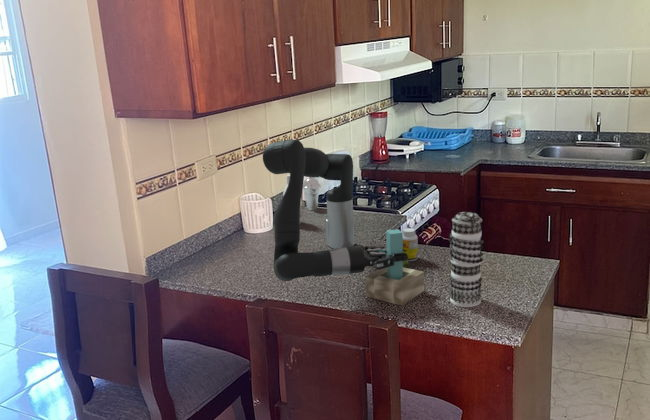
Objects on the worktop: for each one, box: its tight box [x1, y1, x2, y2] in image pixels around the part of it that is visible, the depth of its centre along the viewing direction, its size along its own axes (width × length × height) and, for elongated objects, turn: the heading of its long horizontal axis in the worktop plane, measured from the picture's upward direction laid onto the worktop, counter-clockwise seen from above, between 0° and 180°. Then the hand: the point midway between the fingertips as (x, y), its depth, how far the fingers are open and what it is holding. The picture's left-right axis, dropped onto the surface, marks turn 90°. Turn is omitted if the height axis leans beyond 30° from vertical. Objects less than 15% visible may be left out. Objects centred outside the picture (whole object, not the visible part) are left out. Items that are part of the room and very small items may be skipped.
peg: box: [385, 228, 403, 280], centre depth 175 cm, size 4×4×16 cm
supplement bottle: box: [402, 227, 419, 263], centre depth 203 cm, size 6×6×10 cm
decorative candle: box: [448, 211, 485, 308], centre depth 168 cm, size 9×9×25 cm
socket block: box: [365, 267, 425, 306], centre depth 177 cm, size 12×12×6 cm
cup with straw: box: [302, 177, 321, 211], centre depth 269 cm, size 8×9×20 cm
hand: (403, 253), depth 175 cm, fingers closed on peg, 3 cm apart
